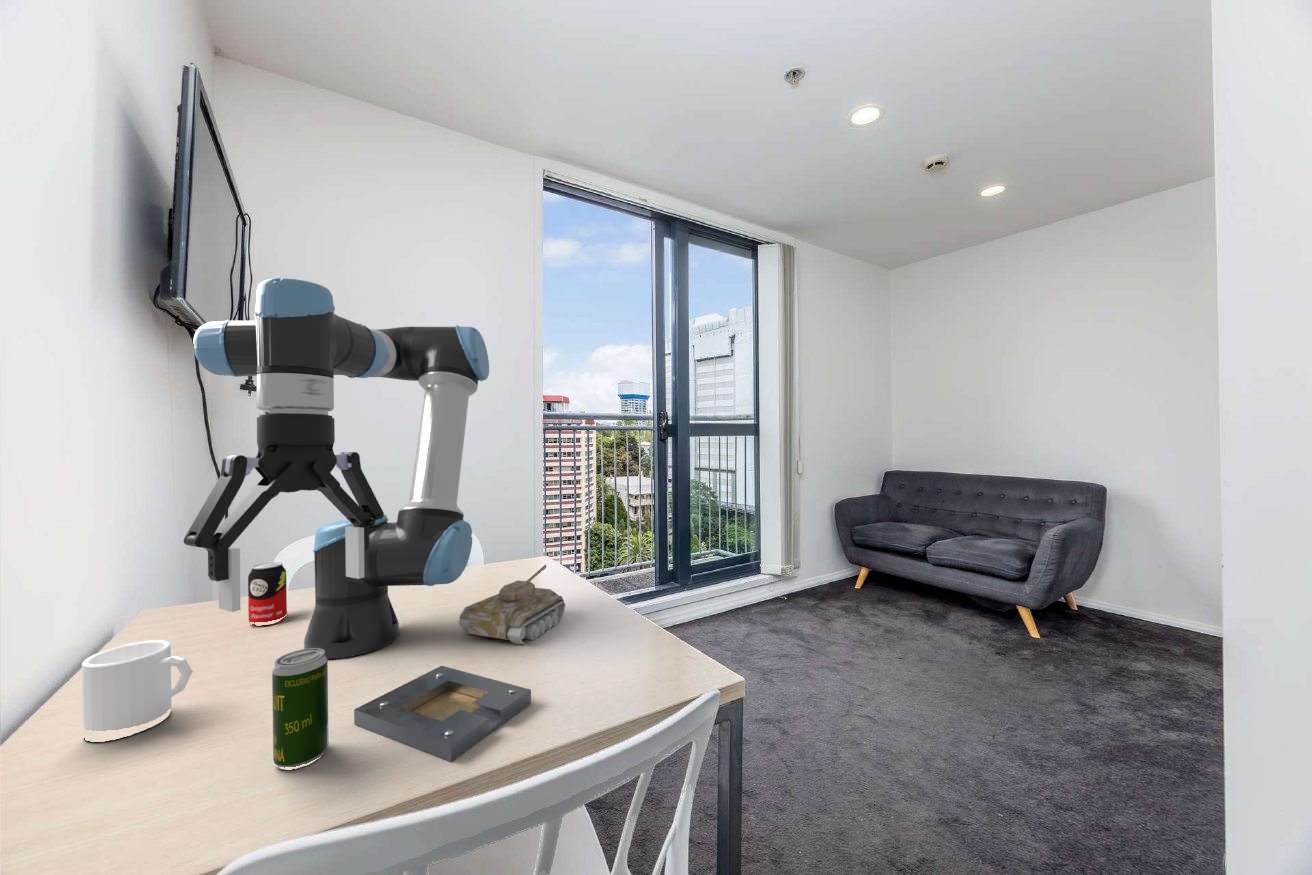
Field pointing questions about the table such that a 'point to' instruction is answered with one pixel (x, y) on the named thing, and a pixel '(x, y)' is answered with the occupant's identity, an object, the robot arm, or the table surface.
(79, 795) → the table surface
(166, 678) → the mug
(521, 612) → the toy tank
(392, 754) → the table surface
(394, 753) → the table surface
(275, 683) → the beer can
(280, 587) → the beverage can
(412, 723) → the chassis plate
